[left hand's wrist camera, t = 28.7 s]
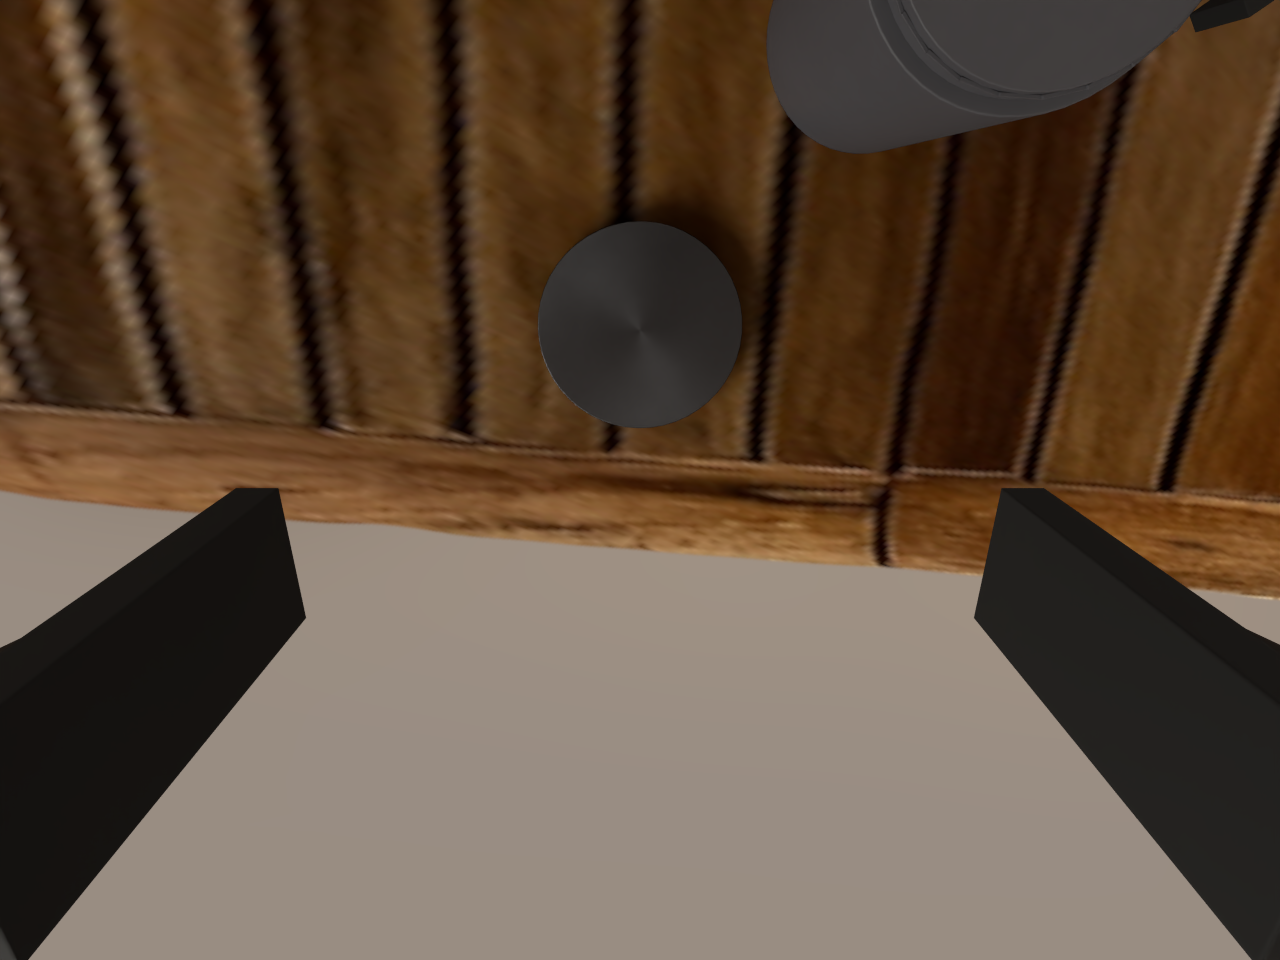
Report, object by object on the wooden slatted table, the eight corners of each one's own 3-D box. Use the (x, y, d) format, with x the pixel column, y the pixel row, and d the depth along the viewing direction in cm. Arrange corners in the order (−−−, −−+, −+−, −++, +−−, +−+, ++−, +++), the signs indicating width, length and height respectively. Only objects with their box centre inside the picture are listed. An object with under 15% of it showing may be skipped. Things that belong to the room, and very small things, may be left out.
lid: (731, 208, 36) (735, 208, 34) (743, 408, 40) (747, 417, 39) (526, 233, 37) (521, 235, 35) (558, 429, 41) (555, 438, 39)
